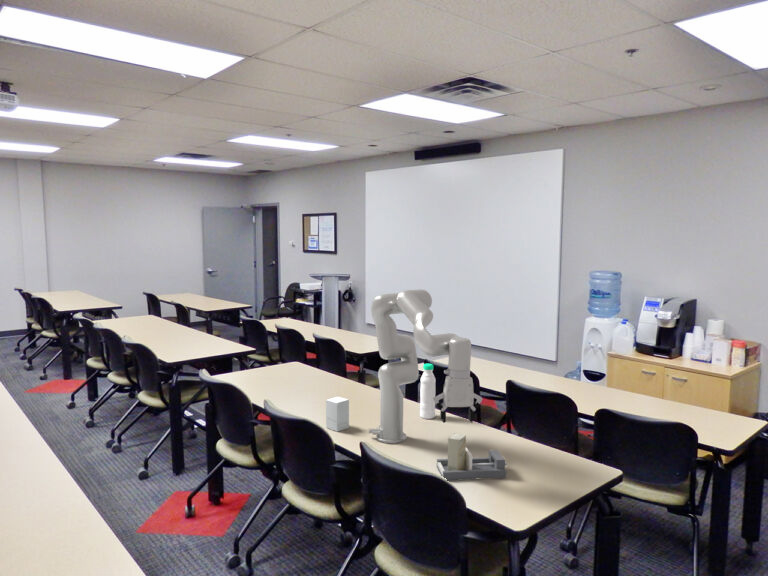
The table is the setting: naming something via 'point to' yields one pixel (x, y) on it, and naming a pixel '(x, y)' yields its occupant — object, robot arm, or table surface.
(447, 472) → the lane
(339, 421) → the supplement box
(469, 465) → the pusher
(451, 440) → the skincare box
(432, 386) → the water bottle
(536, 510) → the table surface
